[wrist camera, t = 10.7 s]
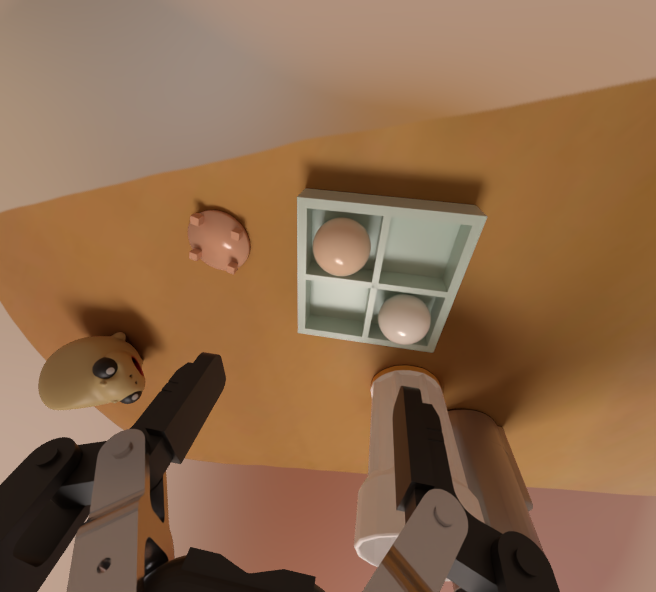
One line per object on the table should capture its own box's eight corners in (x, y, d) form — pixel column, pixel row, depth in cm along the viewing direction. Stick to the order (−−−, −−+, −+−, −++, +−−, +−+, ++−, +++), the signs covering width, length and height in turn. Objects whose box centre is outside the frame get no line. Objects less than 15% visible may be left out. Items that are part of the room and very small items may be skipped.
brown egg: (375, 212, 24) (374, 233, 20) (367, 263, 27) (365, 290, 23) (319, 206, 24) (307, 225, 20) (317, 257, 27) (306, 282, 23)
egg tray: (475, 205, 23) (487, 216, 20) (428, 333, 31) (433, 352, 29) (305, 188, 24) (297, 196, 22) (303, 316, 32) (297, 332, 30)
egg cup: (254, 223, 27) (248, 229, 25) (245, 275, 30) (239, 283, 29) (191, 200, 26) (182, 204, 25) (190, 255, 30) (181, 262, 29)
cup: (413, 345, 32) (441, 527, 18) (467, 394, 36) (525, 580, 22) (345, 381, 38) (327, 543, 24) (397, 421, 41) (408, 583, 27)
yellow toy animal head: (178, 369, 42) (127, 435, 34) (115, 367, 45) (52, 429, 36) (146, 319, 37) (75, 383, 28) (77, 321, 40) (-8, 380, 31)
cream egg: (436, 294, 28) (446, 326, 24) (412, 328, 30) (417, 362, 26) (390, 277, 27) (392, 306, 23) (370, 313, 30) (369, 345, 26)
